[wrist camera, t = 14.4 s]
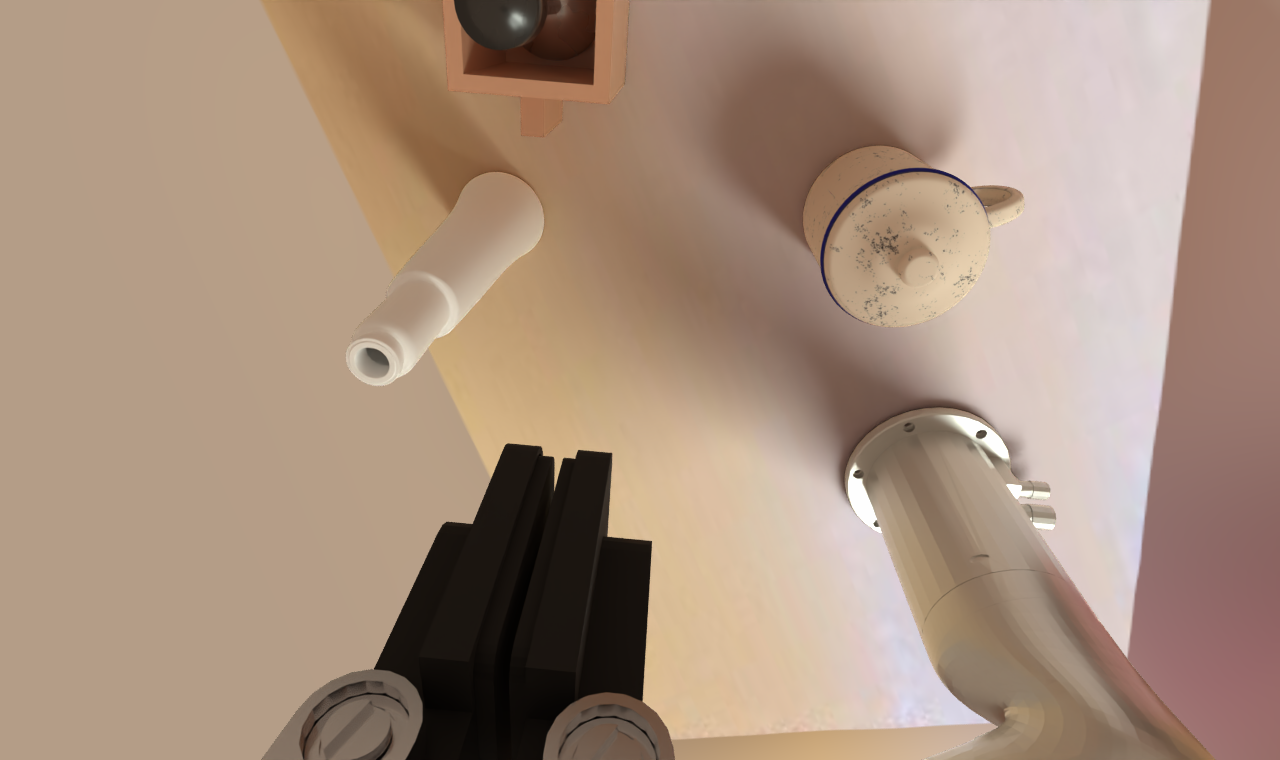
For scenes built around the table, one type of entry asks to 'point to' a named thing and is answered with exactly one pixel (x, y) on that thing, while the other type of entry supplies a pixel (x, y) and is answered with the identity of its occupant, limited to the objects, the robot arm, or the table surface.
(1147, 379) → the table surface
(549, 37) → the black knobbed plunger
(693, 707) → the table surface
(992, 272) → the table surface
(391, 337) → the cosmetic bottle
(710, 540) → the table surface
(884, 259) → the teacup with lid
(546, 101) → the square planter pot
